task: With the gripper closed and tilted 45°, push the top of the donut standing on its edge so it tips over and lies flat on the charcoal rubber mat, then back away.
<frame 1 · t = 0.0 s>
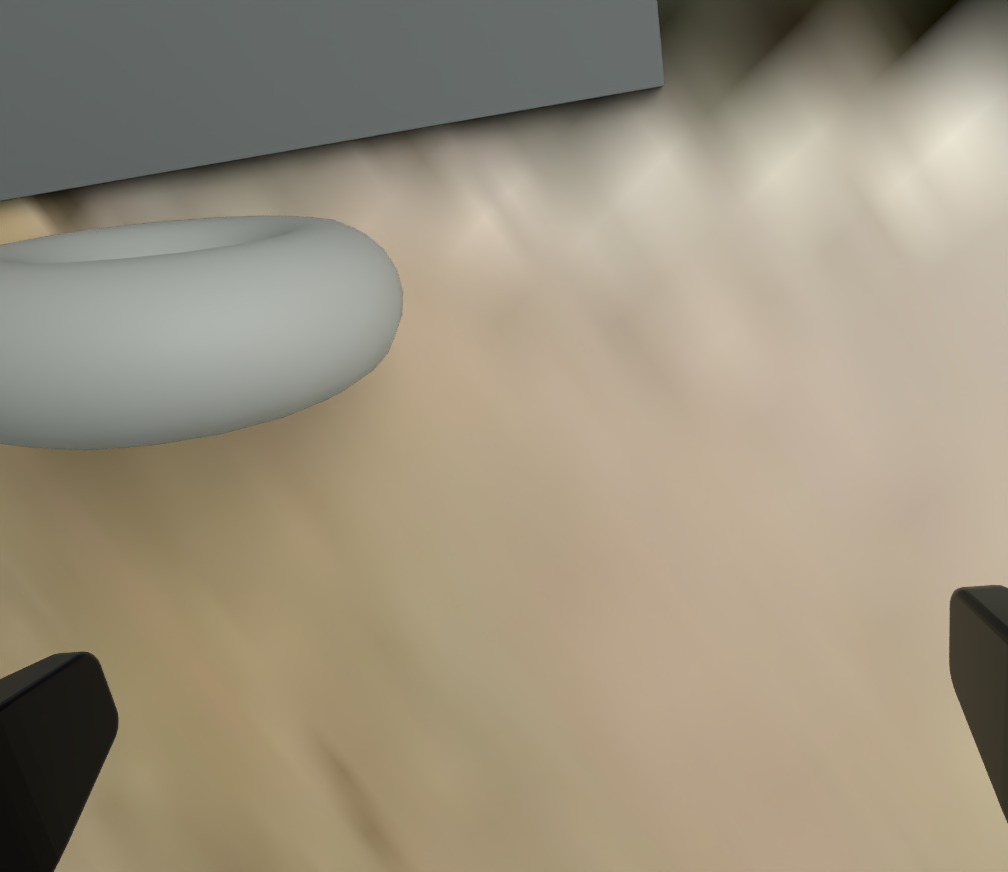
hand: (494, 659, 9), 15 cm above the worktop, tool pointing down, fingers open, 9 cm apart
donut: (263, 275, 23), on the worktop
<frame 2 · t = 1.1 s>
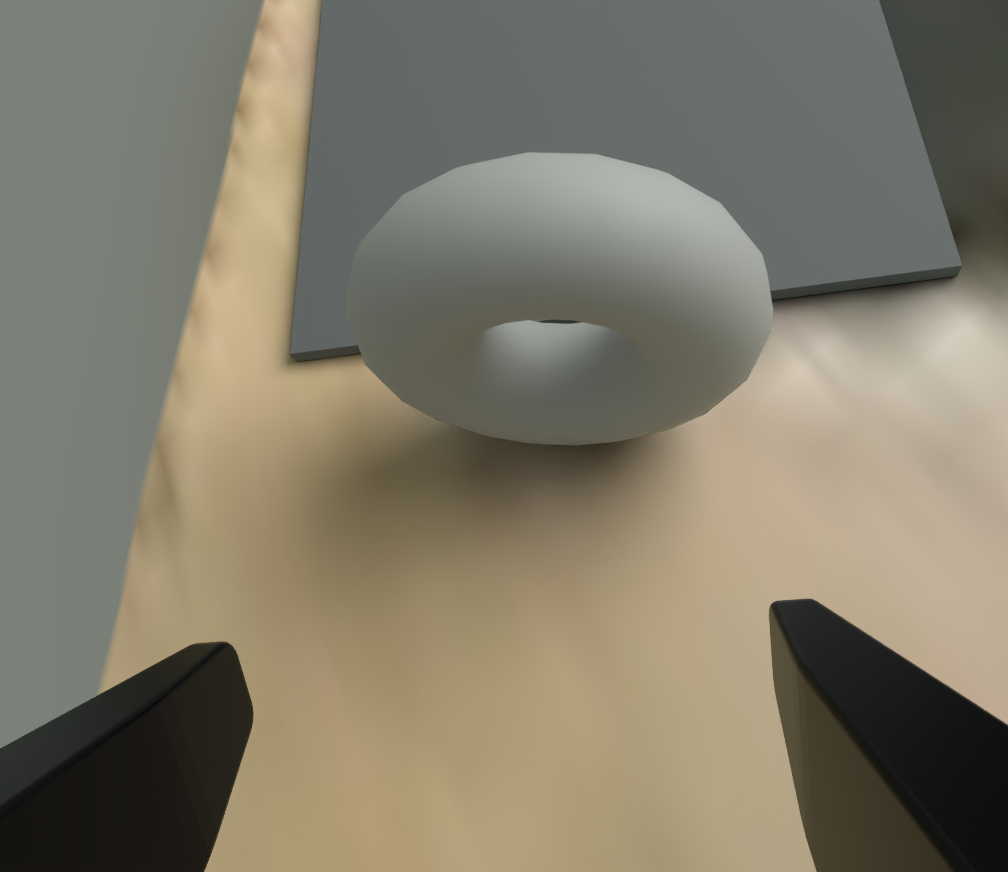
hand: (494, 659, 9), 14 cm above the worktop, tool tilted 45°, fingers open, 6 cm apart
mat: (583, 82, 30), on the worktop
donut: (580, 416, 25), on the worktop
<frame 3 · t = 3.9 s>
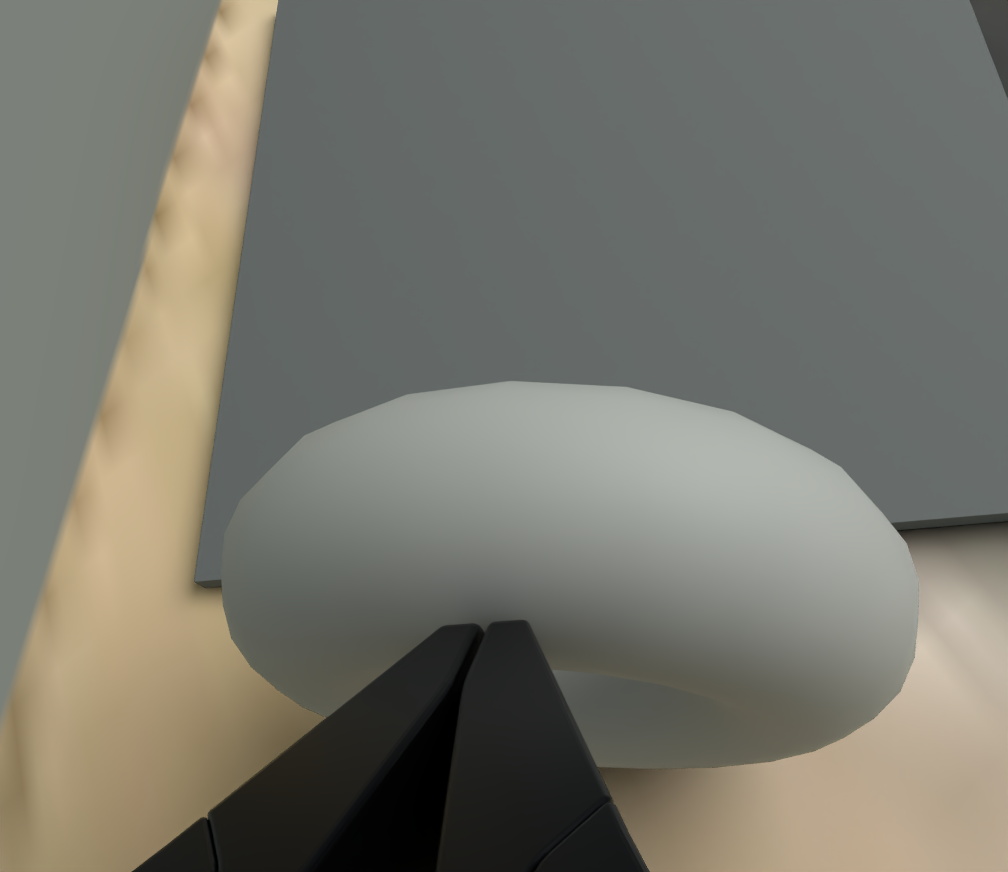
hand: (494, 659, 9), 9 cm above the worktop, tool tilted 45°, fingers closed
mat: (601, 193, 23), on the worktop
donut: (596, 700, 17), on the worktop, touching gripper
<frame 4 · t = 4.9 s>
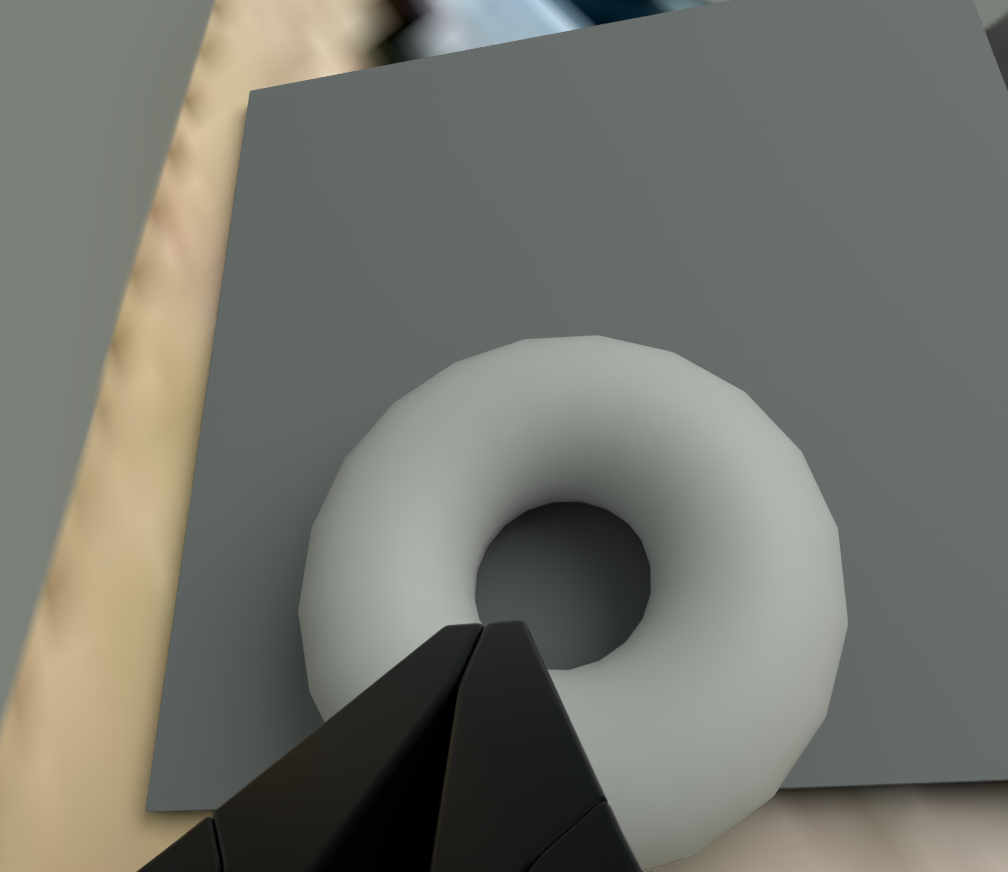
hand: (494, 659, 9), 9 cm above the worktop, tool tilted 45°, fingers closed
mat: (607, 338, 20), on the worktop
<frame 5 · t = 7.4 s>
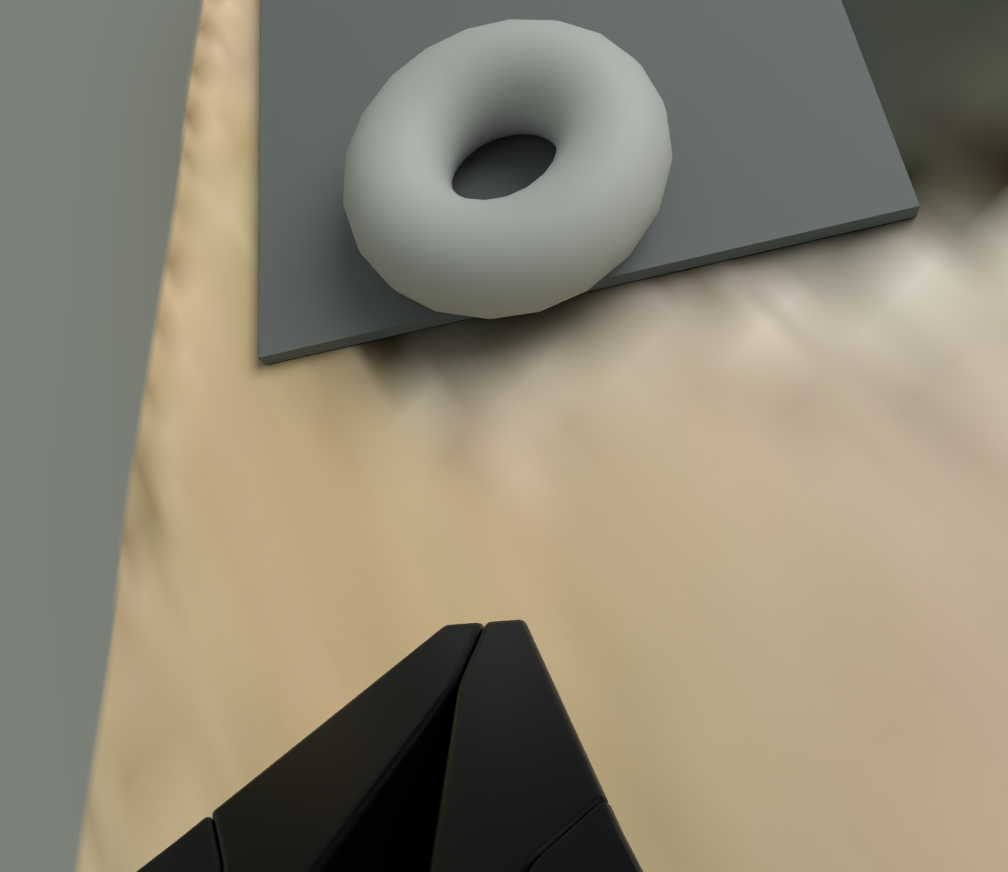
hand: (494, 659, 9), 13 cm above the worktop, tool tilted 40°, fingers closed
mat: (529, 54, 30), on the worktop
donut: (535, 307, 24), point 2 cm above the worktop, touching mat
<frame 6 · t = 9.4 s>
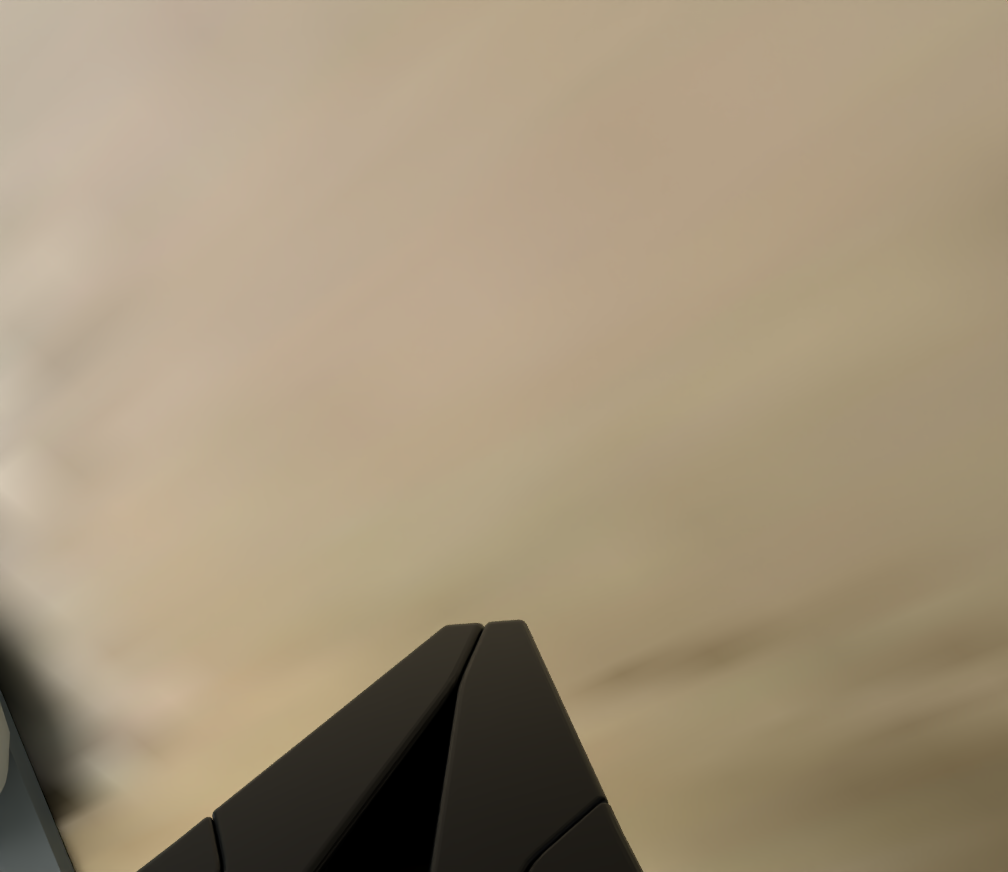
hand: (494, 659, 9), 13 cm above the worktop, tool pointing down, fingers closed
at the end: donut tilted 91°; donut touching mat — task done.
